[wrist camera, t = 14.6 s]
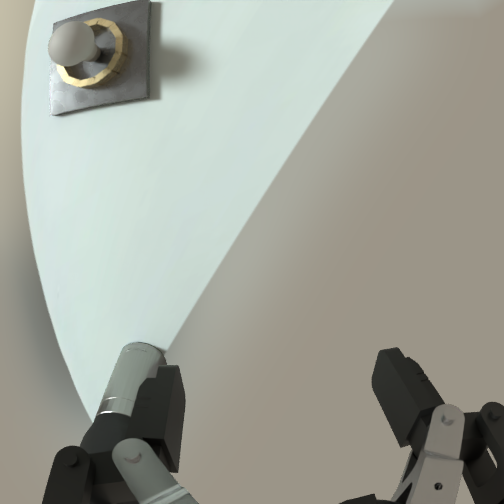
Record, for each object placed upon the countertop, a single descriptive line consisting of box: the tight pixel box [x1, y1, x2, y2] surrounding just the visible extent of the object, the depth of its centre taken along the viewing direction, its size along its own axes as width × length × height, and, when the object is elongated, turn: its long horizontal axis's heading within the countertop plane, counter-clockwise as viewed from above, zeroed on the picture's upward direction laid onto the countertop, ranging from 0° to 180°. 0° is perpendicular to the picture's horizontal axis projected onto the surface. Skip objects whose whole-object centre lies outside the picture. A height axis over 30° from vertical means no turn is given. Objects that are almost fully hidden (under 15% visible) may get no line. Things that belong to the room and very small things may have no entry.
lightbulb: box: [48, 21, 101, 66], centre depth 29 cm, size 6×6×11 cm
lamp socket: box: [50, 0, 151, 116], centre depth 34 cm, size 16×16×4 cm
